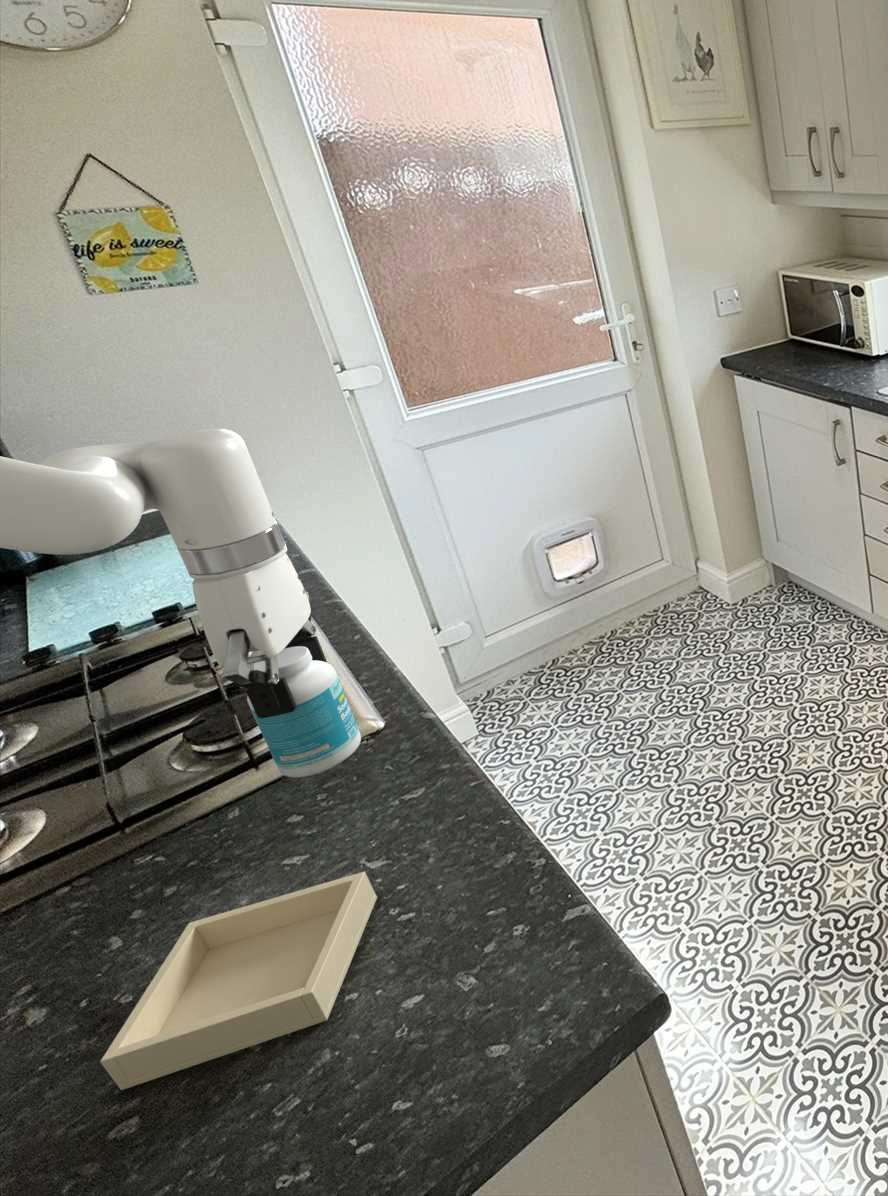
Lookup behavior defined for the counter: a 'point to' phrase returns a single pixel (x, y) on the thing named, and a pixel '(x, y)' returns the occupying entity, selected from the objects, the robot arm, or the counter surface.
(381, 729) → the counter surface
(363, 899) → the tray
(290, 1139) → the counter surface
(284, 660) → the pill bottle
